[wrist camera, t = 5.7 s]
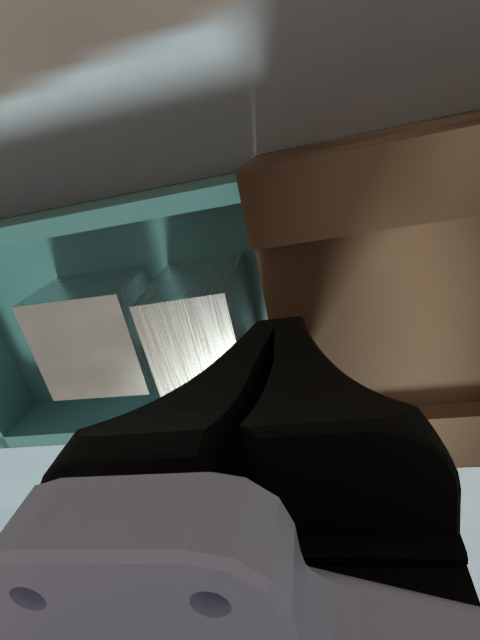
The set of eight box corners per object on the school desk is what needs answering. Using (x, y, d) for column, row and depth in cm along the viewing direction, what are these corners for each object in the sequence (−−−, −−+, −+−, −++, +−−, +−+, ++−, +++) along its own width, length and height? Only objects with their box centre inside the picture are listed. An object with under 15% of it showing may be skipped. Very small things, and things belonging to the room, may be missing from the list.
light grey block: (11, 307, 14) (57, 277, 17) (53, 400, 16) (89, 360, 19) (116, 294, 14) (147, 264, 16) (149, 394, 15) (173, 352, 18)
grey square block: (167, 264, 16) (242, 251, 16) (193, 353, 18) (262, 345, 17) (128, 307, 13) (224, 292, 12) (166, 413, 14) (251, 405, 14)
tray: (252, 168, 15) (240, 181, 12) (291, 385, 18) (288, 431, 16) (-51, 229, 17) (-116, 250, 15) (37, 406, 21) (-2, 448, 19)
